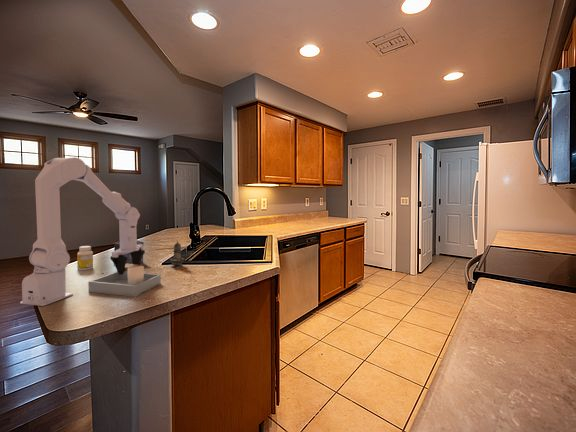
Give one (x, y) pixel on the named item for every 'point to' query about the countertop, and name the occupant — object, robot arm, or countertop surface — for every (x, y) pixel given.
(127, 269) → the walnut cube
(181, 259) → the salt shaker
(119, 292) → the tote
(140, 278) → the beige round piece
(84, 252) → the supplement bottle
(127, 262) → the small box
